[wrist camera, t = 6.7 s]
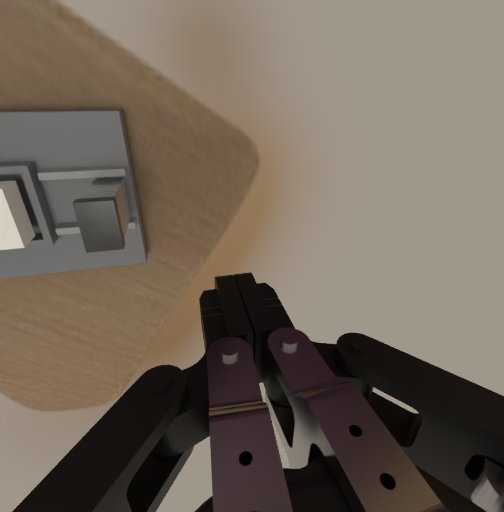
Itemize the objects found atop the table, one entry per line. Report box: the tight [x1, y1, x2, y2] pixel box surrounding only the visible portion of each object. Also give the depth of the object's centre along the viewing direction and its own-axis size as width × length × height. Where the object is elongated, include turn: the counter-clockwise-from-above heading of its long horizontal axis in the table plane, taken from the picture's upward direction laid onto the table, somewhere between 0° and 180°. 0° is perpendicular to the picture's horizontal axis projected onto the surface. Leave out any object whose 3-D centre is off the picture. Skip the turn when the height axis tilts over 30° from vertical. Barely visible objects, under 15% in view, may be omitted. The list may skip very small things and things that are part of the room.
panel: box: [0, 110, 148, 279], centre depth 22 cm, size 18×12×3 cm, turn 90°
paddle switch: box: [72, 178, 131, 253], centre depth 21 cm, size 2×3×6 cm
